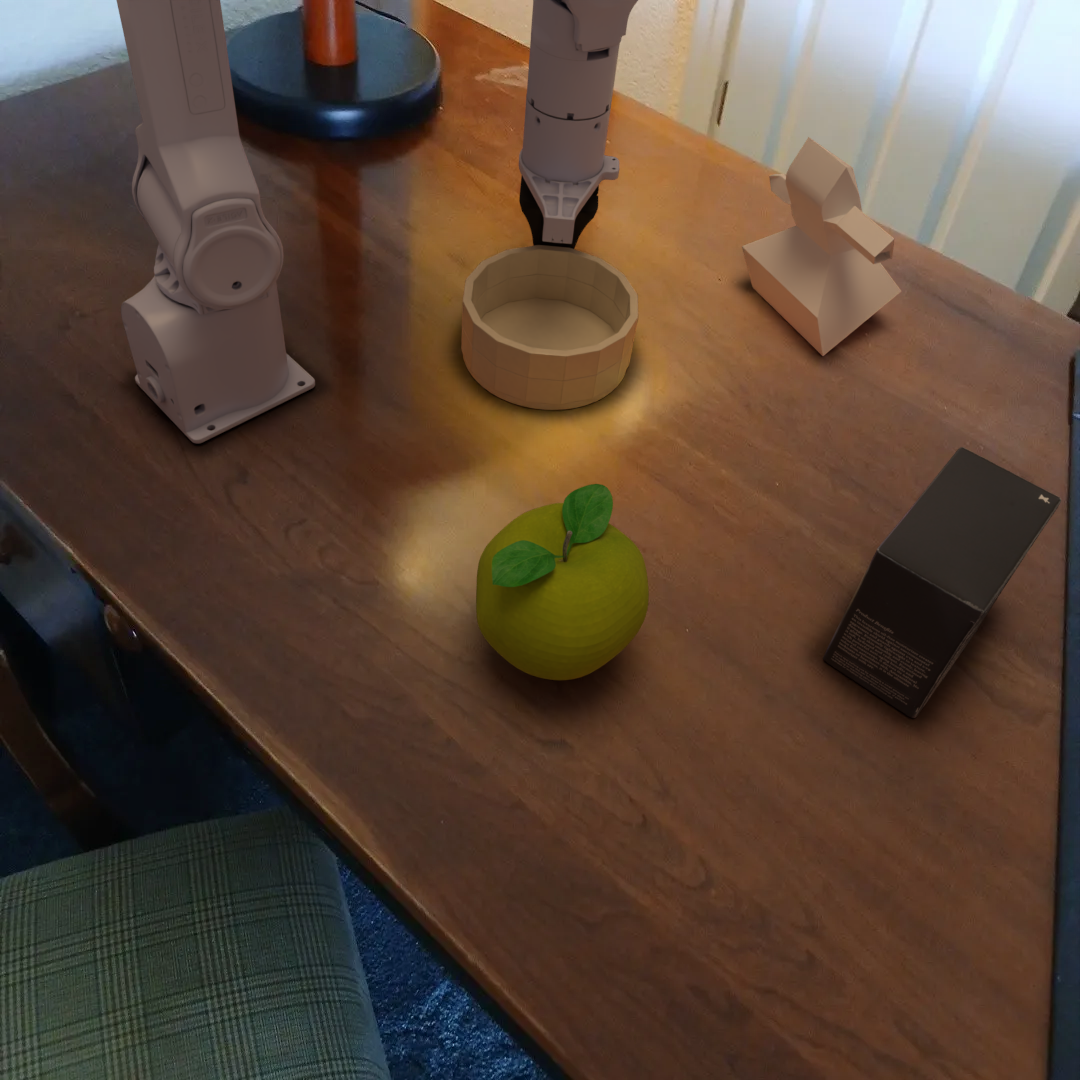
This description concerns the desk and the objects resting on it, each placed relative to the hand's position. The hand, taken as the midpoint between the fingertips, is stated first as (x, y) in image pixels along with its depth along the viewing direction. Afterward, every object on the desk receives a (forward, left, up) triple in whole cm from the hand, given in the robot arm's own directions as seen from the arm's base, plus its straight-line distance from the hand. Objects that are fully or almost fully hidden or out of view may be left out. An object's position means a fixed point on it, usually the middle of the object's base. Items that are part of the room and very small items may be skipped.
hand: (551, 269), depth 80 cm
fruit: (-23, -24, -2) cm, 33 cm away
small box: (-6, -38, -2) cm, 38 cm away
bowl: (-5, -5, -2) cm, 8 cm away
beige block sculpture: (+15, -14, -2) cm, 21 cm away
